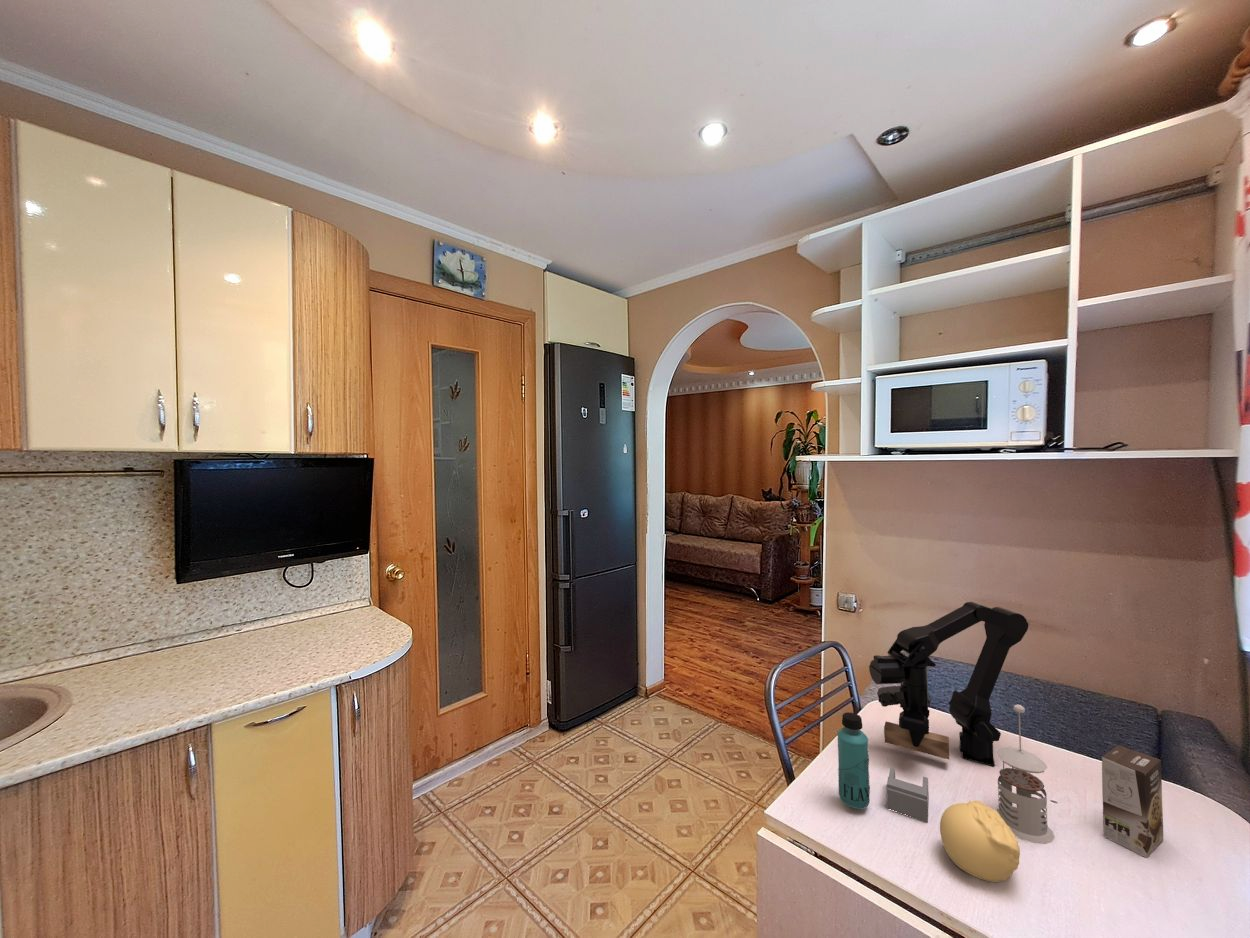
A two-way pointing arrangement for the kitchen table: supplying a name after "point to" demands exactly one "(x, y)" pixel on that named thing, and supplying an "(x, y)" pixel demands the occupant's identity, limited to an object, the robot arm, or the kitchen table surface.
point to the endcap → (908, 797)
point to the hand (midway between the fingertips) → (916, 742)
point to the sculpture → (979, 841)
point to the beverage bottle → (853, 762)
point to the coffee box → (1132, 800)
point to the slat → (928, 745)
